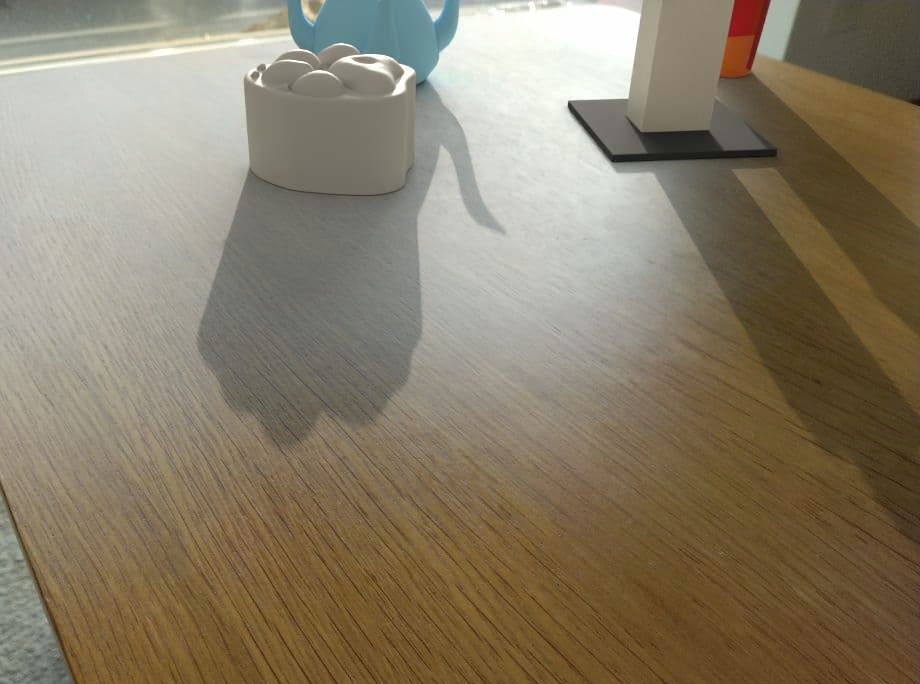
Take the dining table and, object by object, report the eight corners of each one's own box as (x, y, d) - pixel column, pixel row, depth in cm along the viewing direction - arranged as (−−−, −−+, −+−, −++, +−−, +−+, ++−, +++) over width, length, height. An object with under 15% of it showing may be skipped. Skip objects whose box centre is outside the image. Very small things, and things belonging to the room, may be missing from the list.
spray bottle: (625, 115, 87) (657, -101, 78) (694, 113, 88) (735, -102, 78) (641, 132, 84) (677, -92, 74) (713, 130, 84) (758, -93, 74)
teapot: (368, 48, 107) (367, -54, 101) (480, 74, 99) (486, -35, 93) (273, 79, 98) (266, -31, 92) (388, 110, 90) (388, -8, 84)
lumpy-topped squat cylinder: (398, 199, 74) (400, 82, 69) (232, 186, 75) (222, 72, 70) (419, 150, 82) (422, 43, 77) (269, 139, 84) (262, 34, 79)
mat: (712, 102, 93) (713, 95, 92) (776, 155, 81) (778, 148, 81) (567, 106, 91) (567, 100, 91) (611, 161, 80) (612, 154, 80)
